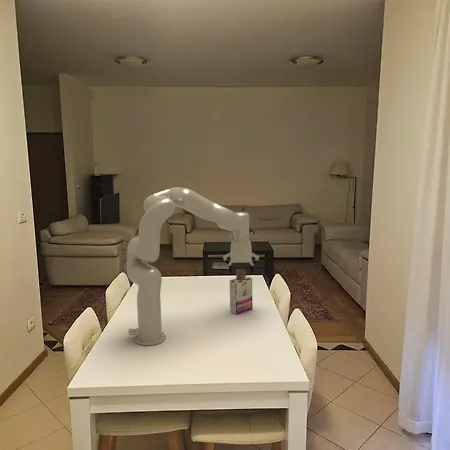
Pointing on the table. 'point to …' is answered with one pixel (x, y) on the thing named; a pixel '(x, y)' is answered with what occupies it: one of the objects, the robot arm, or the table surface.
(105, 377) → the table surface
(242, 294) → the candy bar box
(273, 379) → the table surface
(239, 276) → the walnut block
